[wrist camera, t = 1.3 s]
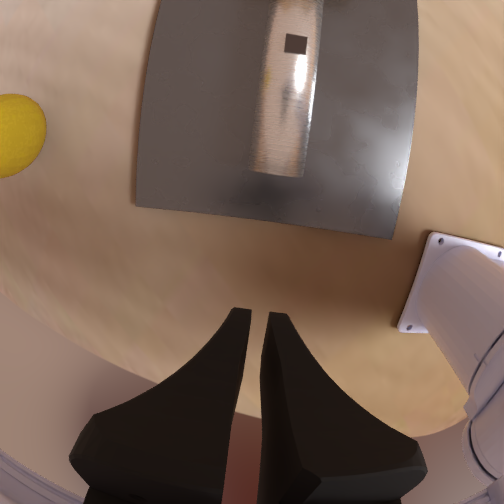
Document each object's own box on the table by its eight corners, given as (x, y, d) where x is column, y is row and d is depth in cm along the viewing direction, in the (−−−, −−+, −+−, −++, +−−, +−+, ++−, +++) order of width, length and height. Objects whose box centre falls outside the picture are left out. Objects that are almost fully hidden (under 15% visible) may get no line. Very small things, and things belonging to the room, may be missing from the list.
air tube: (273, -29, 11) (278, -53, 8) (319, -20, 11) (331, -42, 8) (247, 166, 15) (248, 171, 13) (297, 172, 16) (308, 179, 13)
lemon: (54, 81, 14) (-27, 73, 7) (77, 141, 16) (-11, 154, 8) (13, 125, 15) (-62, 136, 8) (33, 181, 17) (-45, 209, 9)
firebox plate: (404, -62, 8) (430, -93, 3) (388, 236, 17) (426, 272, 12) (197, -92, 8) (181, -129, 3) (139, 204, 17) (95, 229, 12)
